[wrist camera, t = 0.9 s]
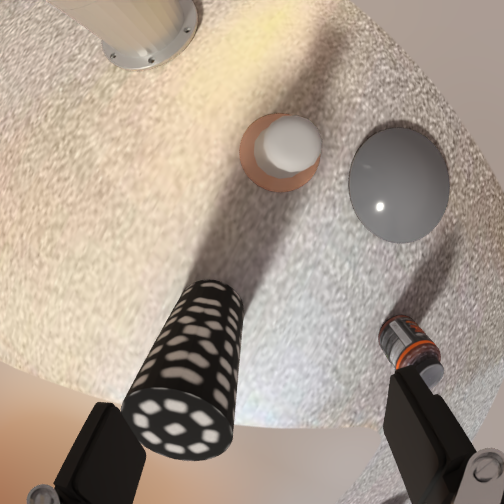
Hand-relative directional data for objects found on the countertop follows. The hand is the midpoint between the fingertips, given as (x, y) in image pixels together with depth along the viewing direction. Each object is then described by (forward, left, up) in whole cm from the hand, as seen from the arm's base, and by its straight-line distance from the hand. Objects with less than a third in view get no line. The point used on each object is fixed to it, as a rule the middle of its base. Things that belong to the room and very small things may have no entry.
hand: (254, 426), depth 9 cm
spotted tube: (+8, -7, -28) cm, 30 cm away
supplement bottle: (+17, +17, -28) cm, 36 cm away
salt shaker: (-9, +5, -28) cm, 29 cm away
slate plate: (-3, +19, -28) cm, 33 cm away
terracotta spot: (-9, +5, -28) cm, 29 cm away
